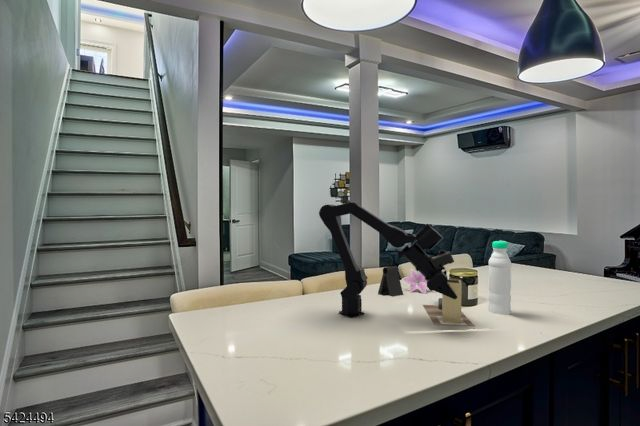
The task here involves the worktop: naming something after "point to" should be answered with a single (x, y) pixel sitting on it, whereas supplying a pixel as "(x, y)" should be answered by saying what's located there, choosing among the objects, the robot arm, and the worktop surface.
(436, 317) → the shaft board
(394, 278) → the phone stand
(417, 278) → the lily
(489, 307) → the water bottle
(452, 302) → the sleeve
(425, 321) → the worktop surface
